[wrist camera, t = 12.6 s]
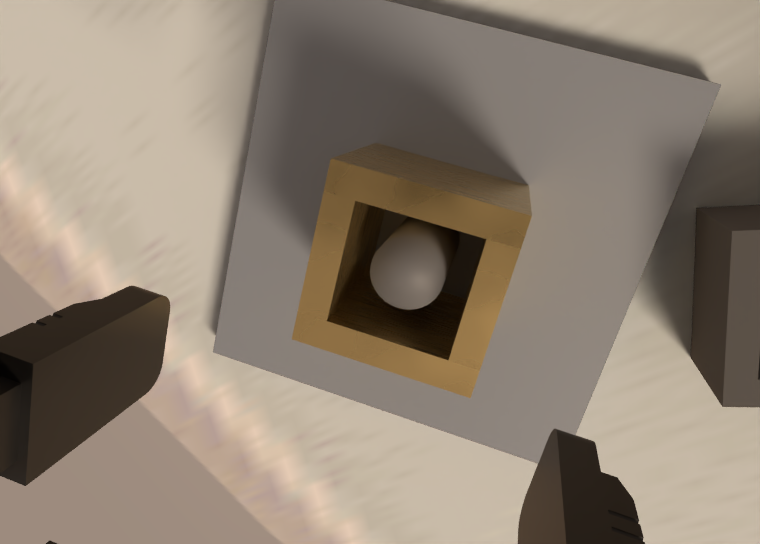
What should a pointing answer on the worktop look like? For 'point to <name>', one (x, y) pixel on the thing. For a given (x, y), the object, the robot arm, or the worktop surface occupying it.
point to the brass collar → (356, 250)
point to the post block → (448, 246)
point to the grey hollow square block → (728, 303)
